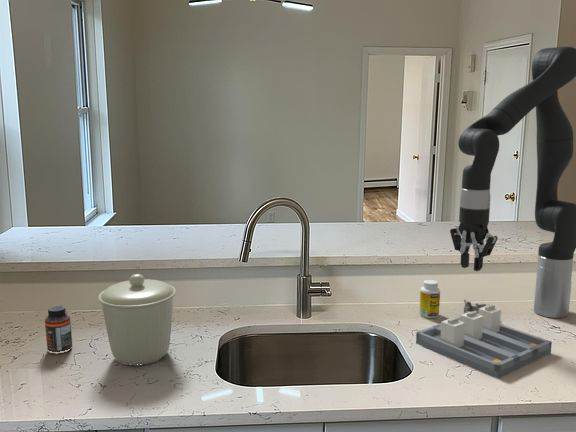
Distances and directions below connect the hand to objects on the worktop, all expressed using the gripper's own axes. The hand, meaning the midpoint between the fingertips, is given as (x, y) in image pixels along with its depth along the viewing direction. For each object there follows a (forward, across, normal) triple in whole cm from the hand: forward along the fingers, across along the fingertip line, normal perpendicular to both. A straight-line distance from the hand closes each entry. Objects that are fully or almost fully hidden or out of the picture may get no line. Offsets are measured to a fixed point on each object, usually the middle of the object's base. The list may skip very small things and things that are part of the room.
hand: (471, 268), depth 155 cm
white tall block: (+16, -6, +7) cm, 18 cm away
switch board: (+17, -10, +8) cm, 21 cm away
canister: (+17, +37, +78) cm, 89 cm away
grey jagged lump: (+18, +3, -9) cm, 20 cm away
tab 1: (+16, -7, +15) cm, 23 cm away
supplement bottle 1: (+17, +53, +94) cm, 109 cm away
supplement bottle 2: (+17, +13, 0) cm, 22 cm away
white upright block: (+16, -6, 0) cm, 17 cm away
